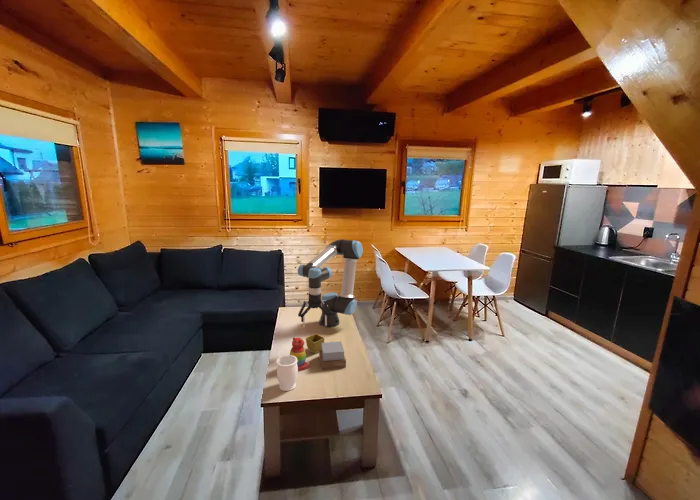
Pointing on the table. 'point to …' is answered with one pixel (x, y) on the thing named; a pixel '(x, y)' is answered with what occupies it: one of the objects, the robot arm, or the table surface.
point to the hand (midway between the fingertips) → (314, 325)
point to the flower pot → (314, 342)
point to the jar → (287, 372)
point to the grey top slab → (332, 351)
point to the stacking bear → (299, 353)
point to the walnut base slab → (331, 363)
